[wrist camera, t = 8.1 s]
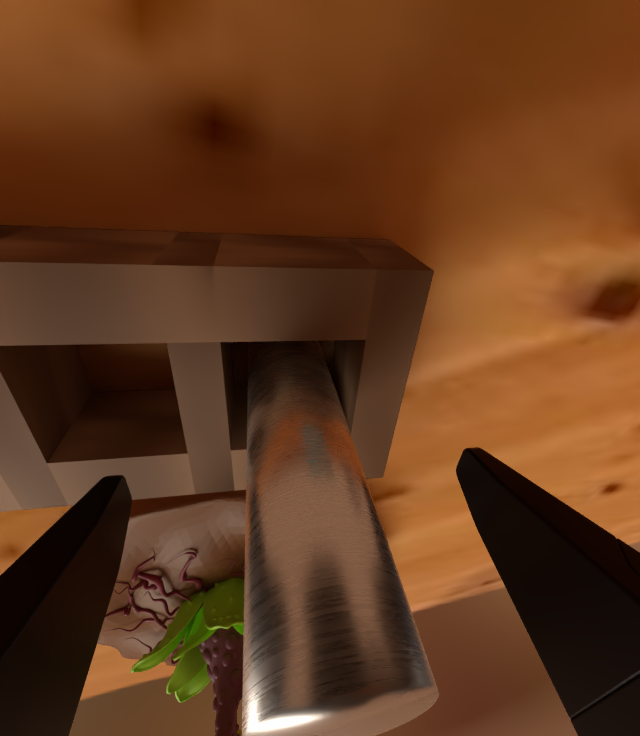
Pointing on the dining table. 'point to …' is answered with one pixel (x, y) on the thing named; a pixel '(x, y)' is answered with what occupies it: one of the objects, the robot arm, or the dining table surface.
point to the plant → (185, 596)
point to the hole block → (186, 350)
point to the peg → (318, 567)
